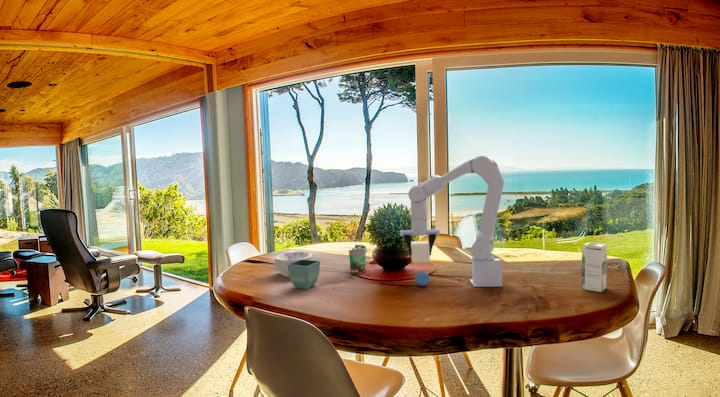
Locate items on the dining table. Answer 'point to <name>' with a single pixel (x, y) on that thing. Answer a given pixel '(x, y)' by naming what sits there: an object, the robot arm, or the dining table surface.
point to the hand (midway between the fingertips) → (420, 254)
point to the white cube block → (420, 251)
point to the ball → (422, 278)
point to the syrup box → (594, 266)
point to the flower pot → (304, 273)
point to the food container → (357, 259)
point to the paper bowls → (289, 260)
